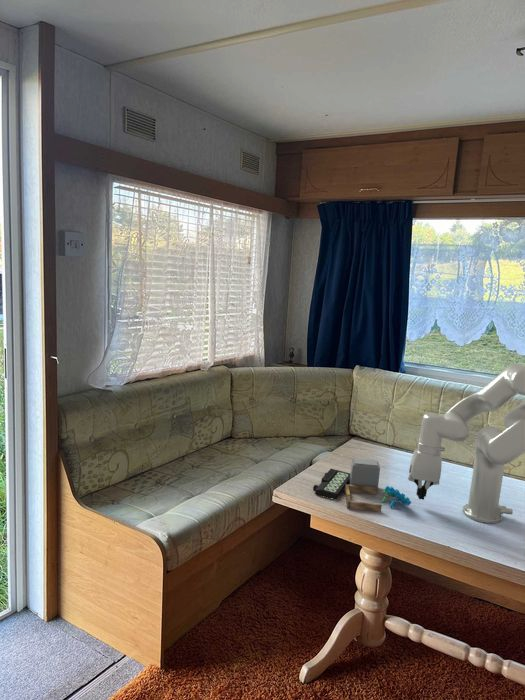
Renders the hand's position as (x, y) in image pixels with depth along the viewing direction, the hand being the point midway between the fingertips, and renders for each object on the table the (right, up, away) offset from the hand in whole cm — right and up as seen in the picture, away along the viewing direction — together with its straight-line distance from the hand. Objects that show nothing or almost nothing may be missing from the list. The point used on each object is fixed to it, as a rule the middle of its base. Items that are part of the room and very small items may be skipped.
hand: (420, 497), depth 183 cm
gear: (-9, -3, +1) cm, 9 cm away
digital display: (-30, 0, +13) cm, 32 cm away
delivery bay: (-20, -2, +2) cm, 20 cm away
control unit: (-18, 0, +13) cm, 22 cm away
